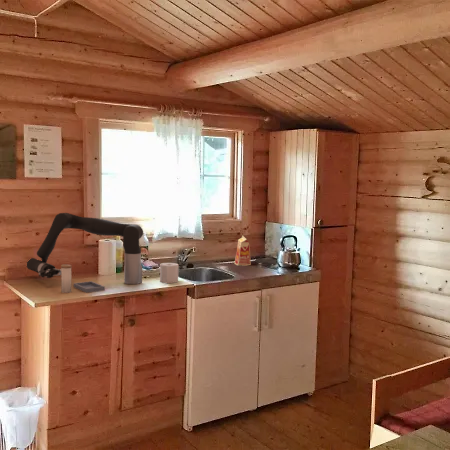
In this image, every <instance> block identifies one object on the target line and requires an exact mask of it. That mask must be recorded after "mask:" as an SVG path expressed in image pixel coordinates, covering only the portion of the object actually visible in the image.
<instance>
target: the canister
mask: <svg viewBox="0 0 450 450" xmlns="http://www.w3.org/2000/svg"><path fill="white" fill-rule="evenodd" d="M60 269H61V275H60V277H61V278H60V280H61V281H60V282H61V285H60V286H61V288H60V289H61V293H62V294H67V293H72V264H68V263H65V264H64V263H63V264H61V265H60Z"/></svg>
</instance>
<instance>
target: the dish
mask: <svg viewBox="0 0 450 450" xmlns="http://www.w3.org/2000/svg"><path fill="white" fill-rule="evenodd" d="M105 287H106V286H104V285H102V284H100V283H97V282H95V281H91V280H90V281H83V282H73V288H75V289H77V290H79V291H81V292H84V293H95V292H101V291H105Z"/></svg>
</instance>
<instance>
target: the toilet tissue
mask: <svg viewBox="0 0 450 450" xmlns="http://www.w3.org/2000/svg"><path fill="white" fill-rule="evenodd" d="M159 281H160V283H166V284H173V283H177V282H179V264H178V263H175V262H162V263H160V264H159Z"/></svg>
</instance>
